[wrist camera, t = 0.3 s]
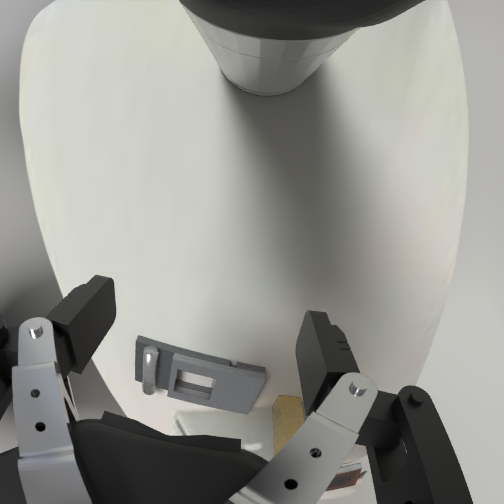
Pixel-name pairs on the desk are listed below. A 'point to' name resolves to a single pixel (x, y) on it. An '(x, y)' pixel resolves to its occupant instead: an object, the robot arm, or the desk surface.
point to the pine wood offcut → (286, 420)
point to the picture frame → (345, 477)
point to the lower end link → (164, 365)
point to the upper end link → (219, 383)
